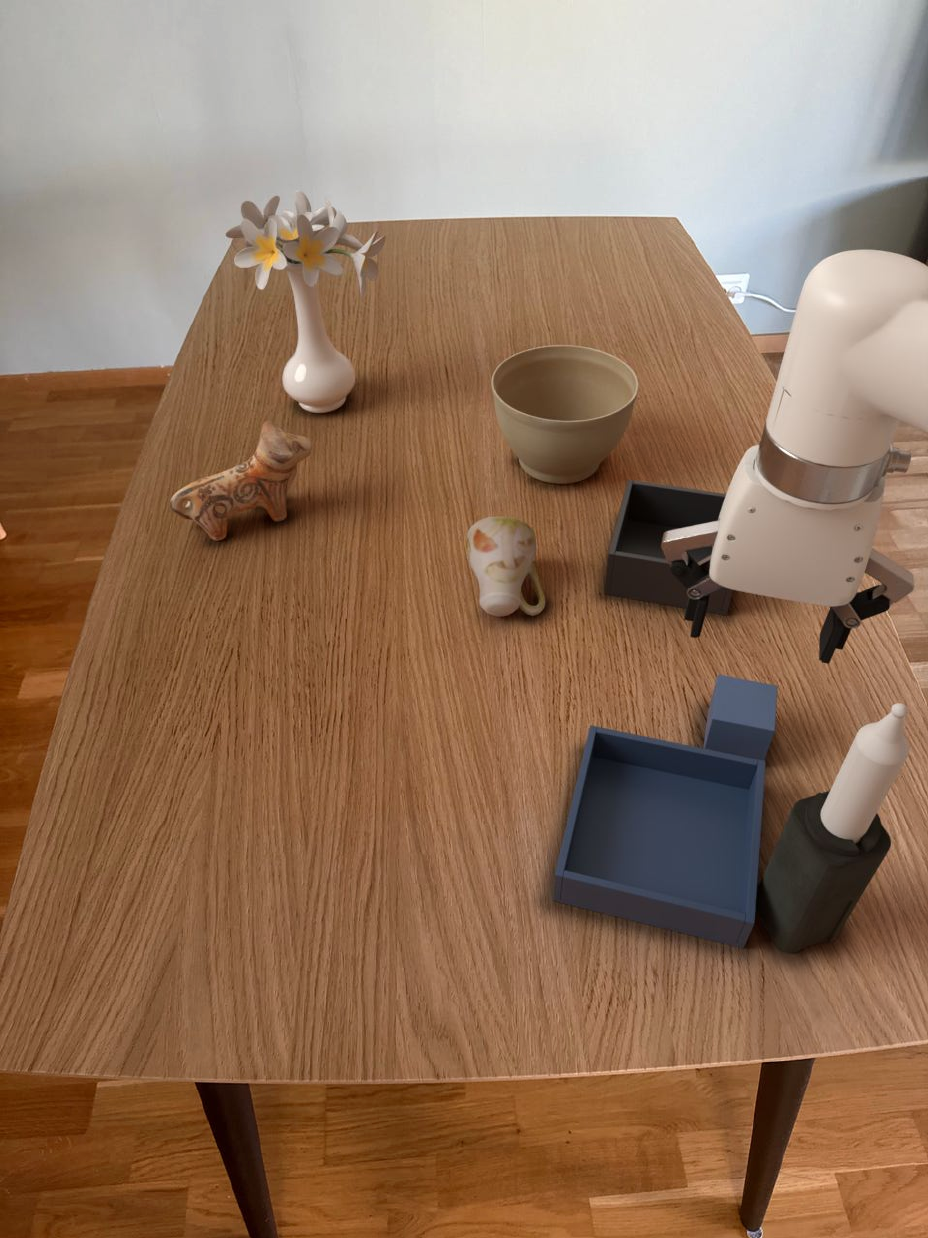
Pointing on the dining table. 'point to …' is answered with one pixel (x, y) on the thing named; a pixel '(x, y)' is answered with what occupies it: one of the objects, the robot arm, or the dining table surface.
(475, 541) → the mug
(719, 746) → the blue block
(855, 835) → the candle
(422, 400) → the dining table surface
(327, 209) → the flower vase
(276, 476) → the figurine
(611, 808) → the blue bin
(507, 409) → the planter bowl
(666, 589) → the charcoal bin
